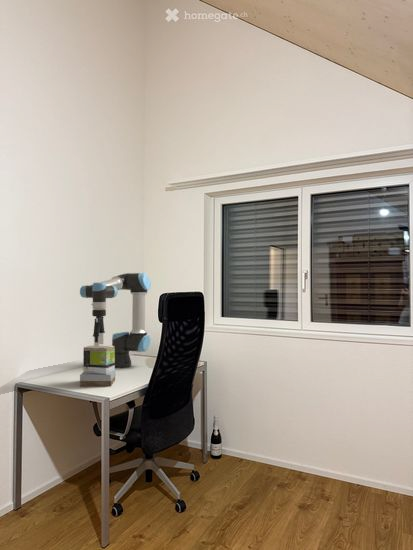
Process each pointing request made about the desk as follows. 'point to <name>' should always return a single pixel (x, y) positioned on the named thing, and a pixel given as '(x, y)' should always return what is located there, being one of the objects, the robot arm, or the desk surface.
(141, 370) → the desk surface
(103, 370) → the tea box
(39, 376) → the desk surface
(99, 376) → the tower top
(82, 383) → the tower base
